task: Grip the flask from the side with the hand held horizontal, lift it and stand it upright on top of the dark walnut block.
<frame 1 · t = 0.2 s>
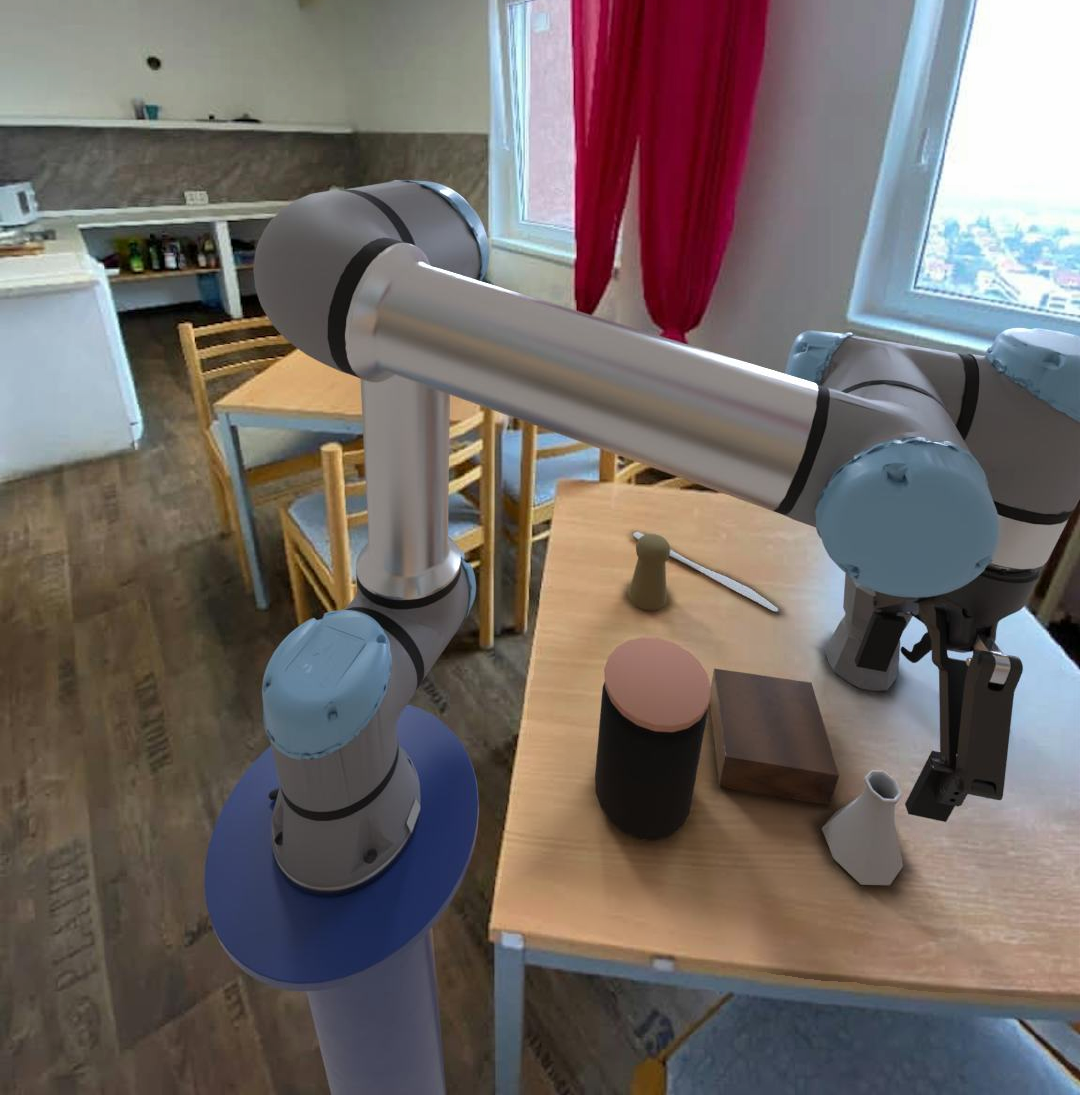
hand: (894, 731, 53), 21 cm above the table, tool pointing down, fingers open, 13 cm apart
coffee jar: (641, 796, 68), on the table
walnut block: (764, 746, 73), on the table
butter knife: (700, 570, 102), on the table
coffeepot: (865, 671, 84), on the table
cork: (647, 597, 96), on the table
flask: (860, 849, 63), on the table
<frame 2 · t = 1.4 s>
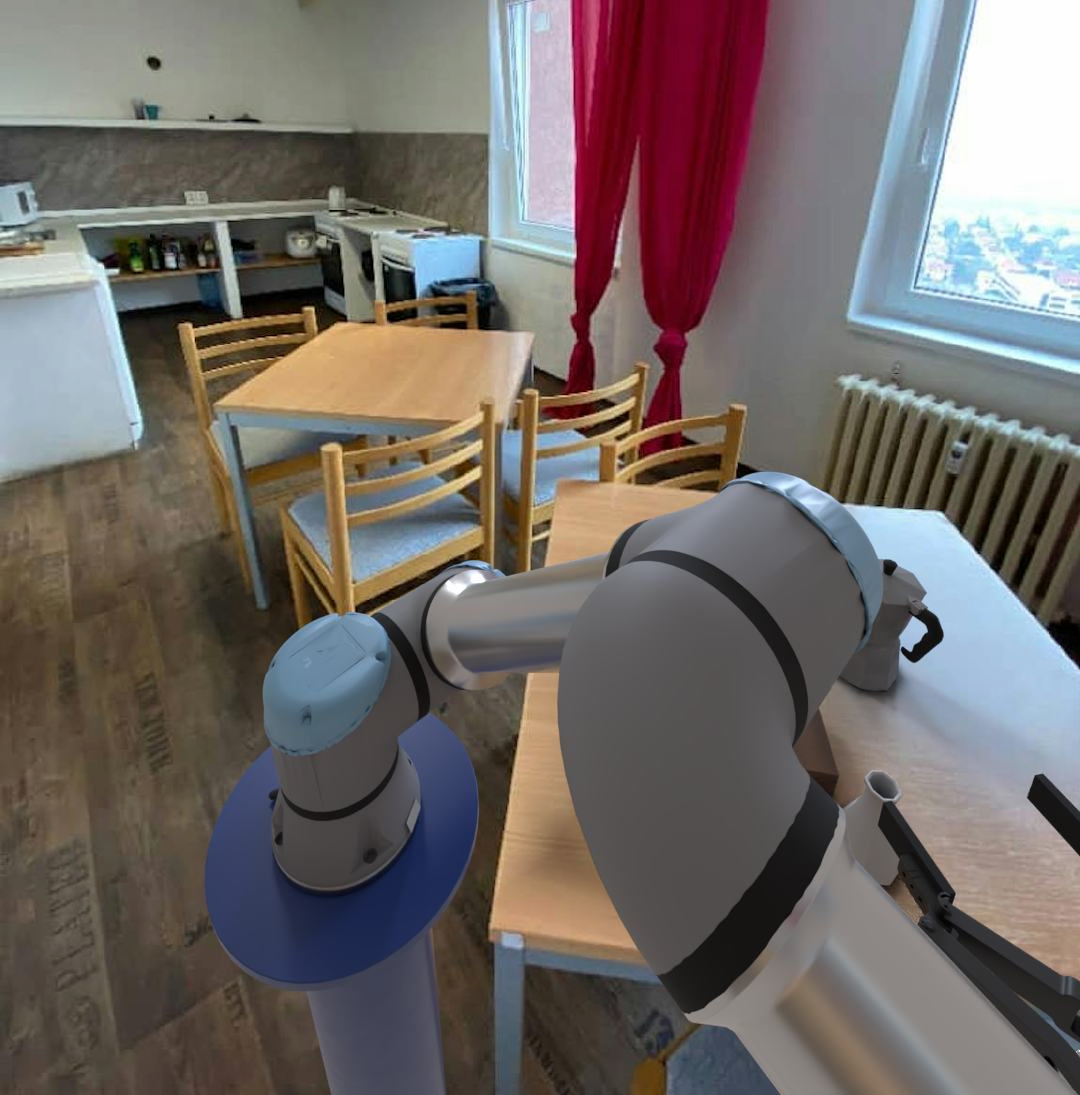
hand: (960, 798, 49), 19 cm above the table, tool horizontal, fingers open, 13 cm apart
nothing on the table moved.
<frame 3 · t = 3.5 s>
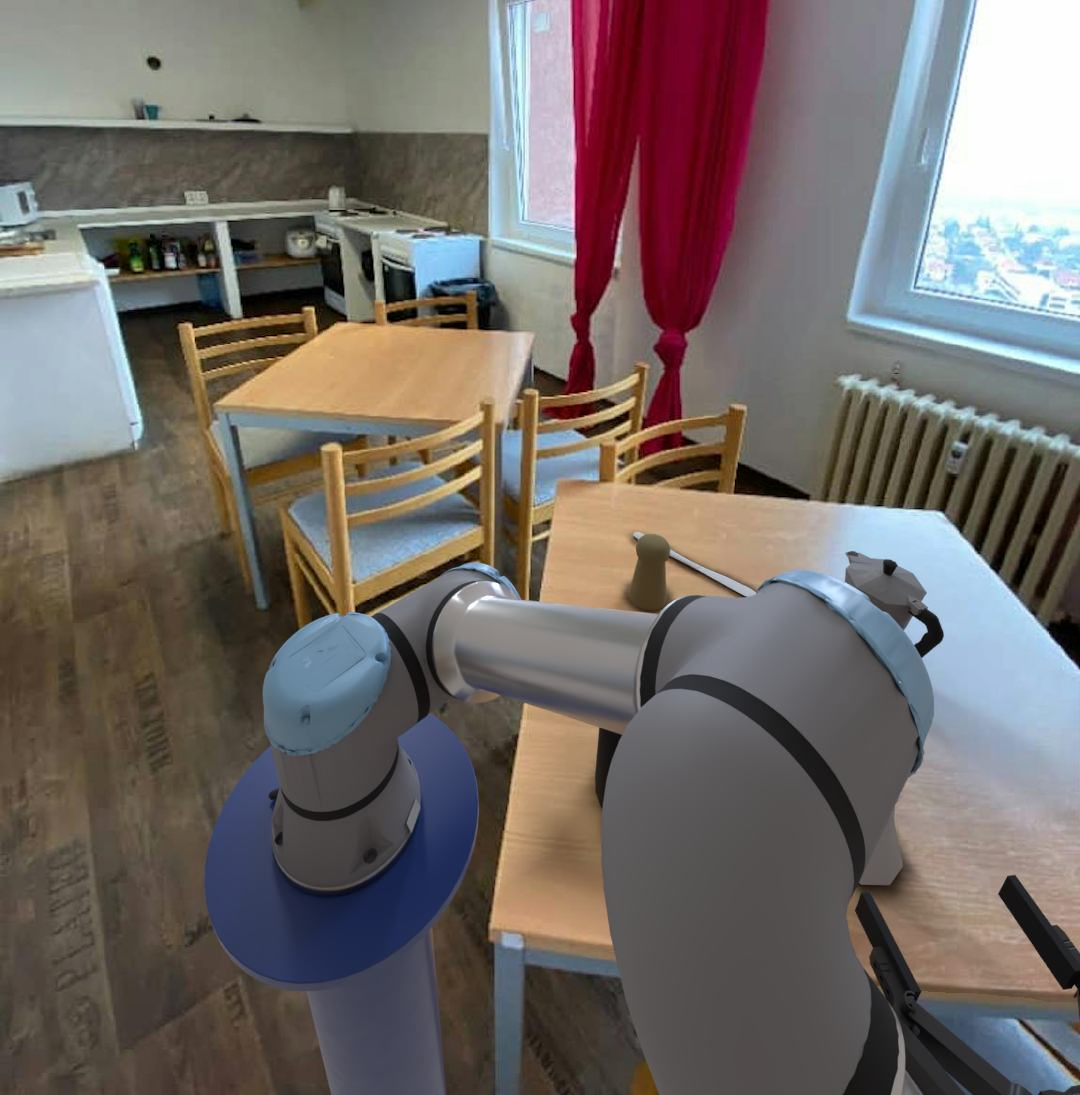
hand: (934, 891, 53), 8 cm above the table, tool horizontal, fingers open, 13 cm apart
nothing on the table moved.
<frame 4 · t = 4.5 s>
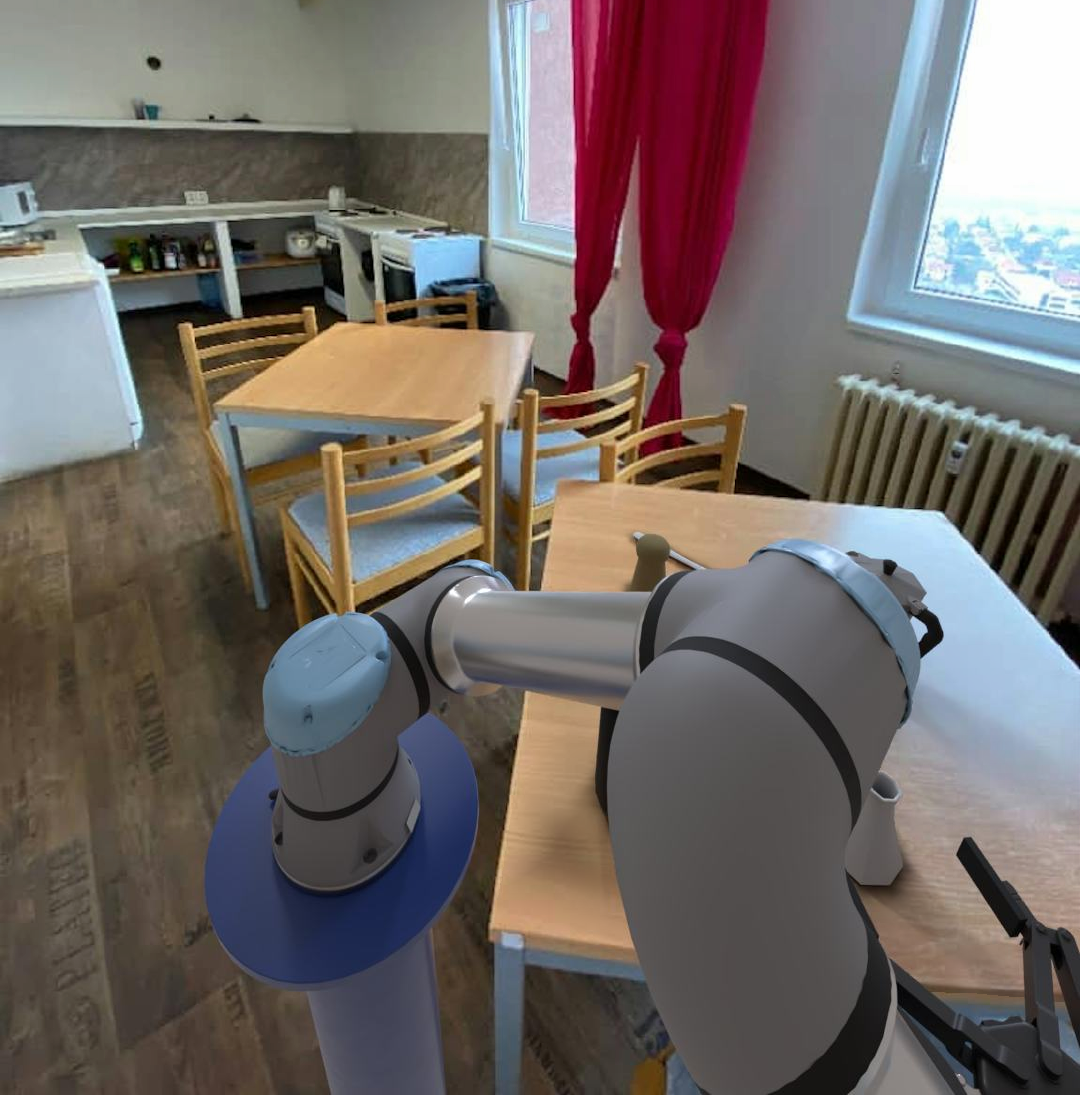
hand: (897, 851, 58), 6 cm above the table, tool horizontal, fingers open, 13 cm apart
nothing on the table moved.
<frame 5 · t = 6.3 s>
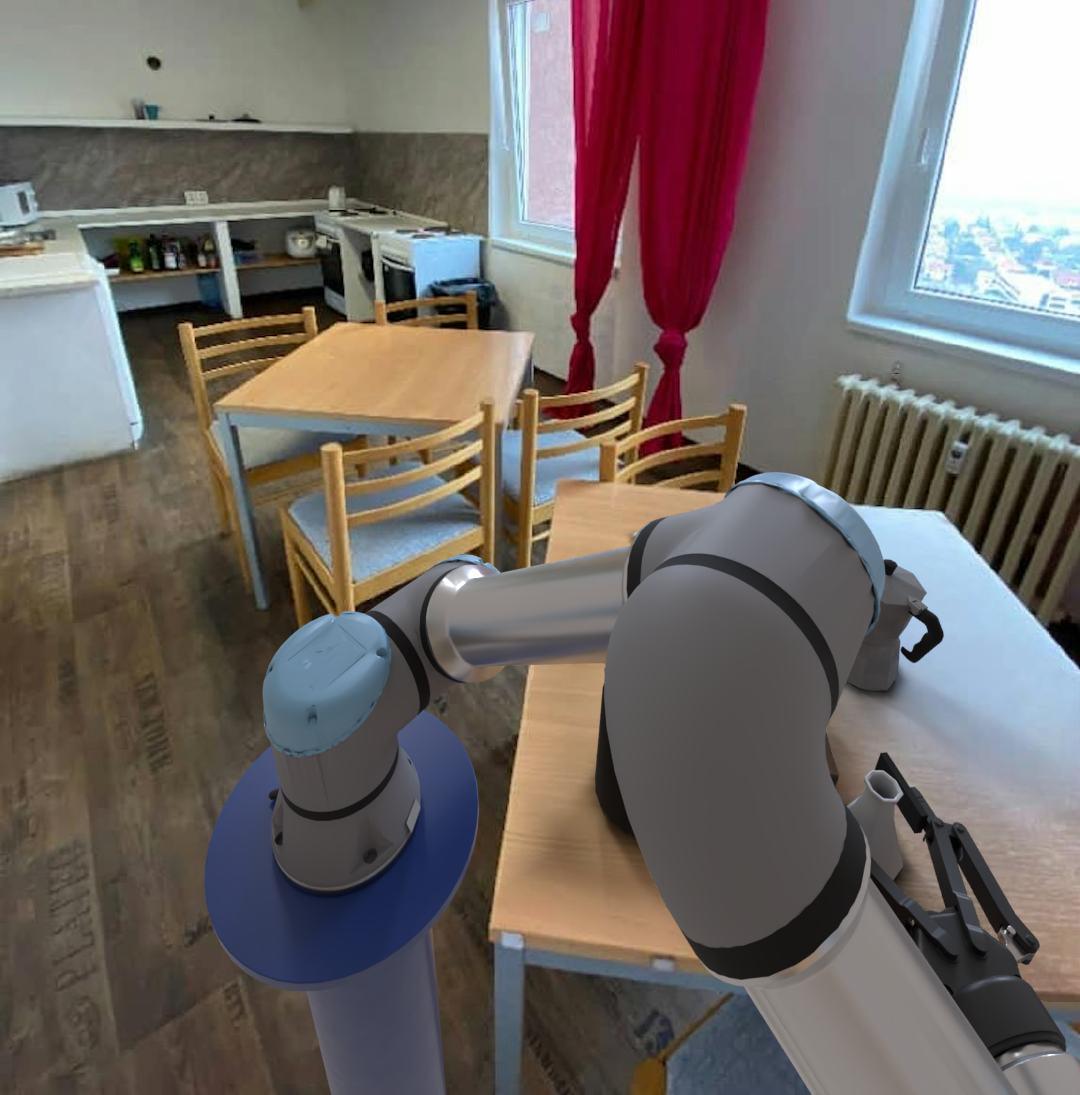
hand: (846, 764, 65), 6 cm above the table, tool horizontal, fingers open, 7 cm apart
nothing on the table moved.
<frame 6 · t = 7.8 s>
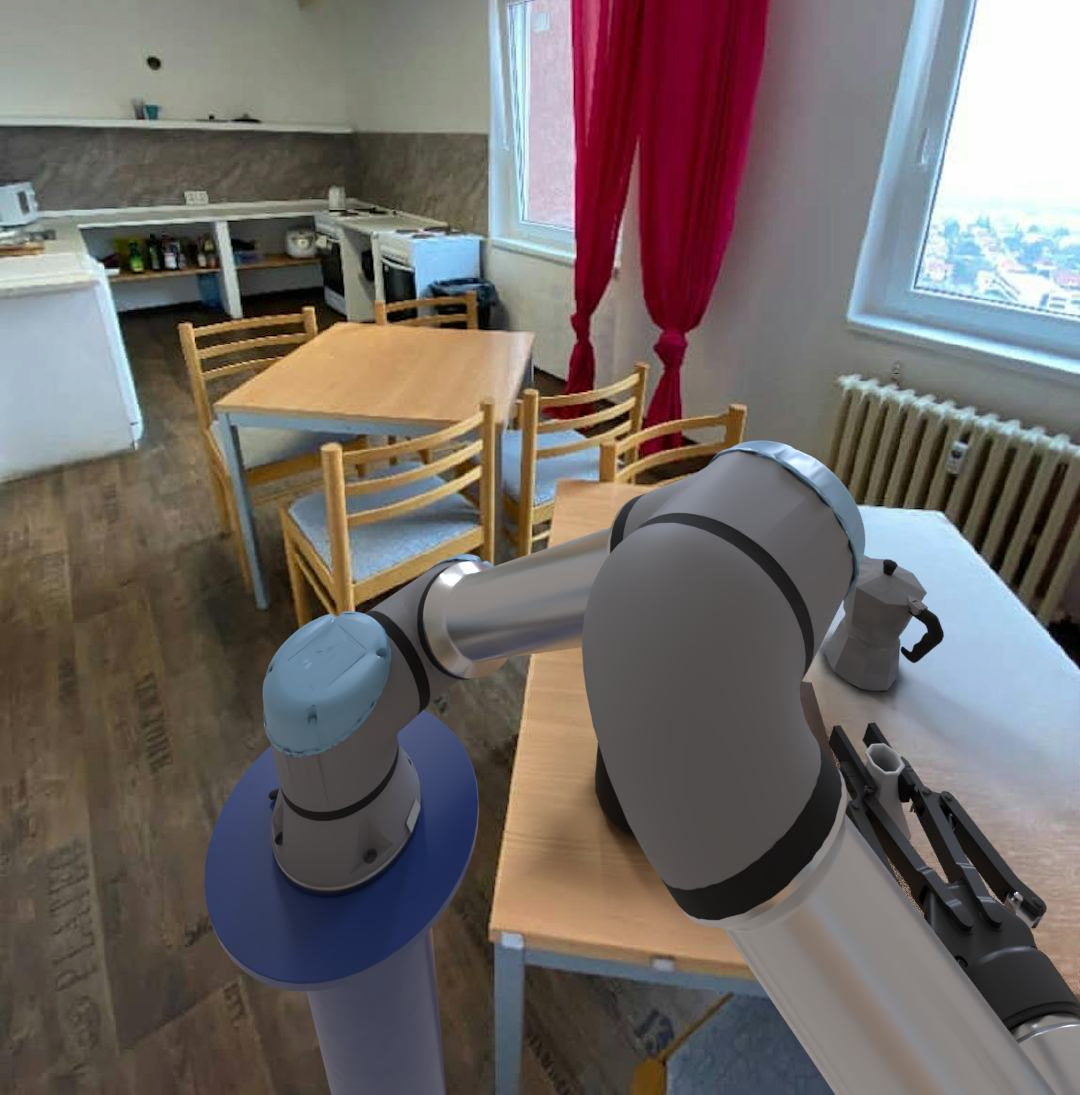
hand: (851, 733, 64), 10 cm above the table, tool horizontal, fingers closed on flask, 3 cm apart
flask: (867, 824, 63), point 3 cm above the table, touching gripper
everything else where it was.
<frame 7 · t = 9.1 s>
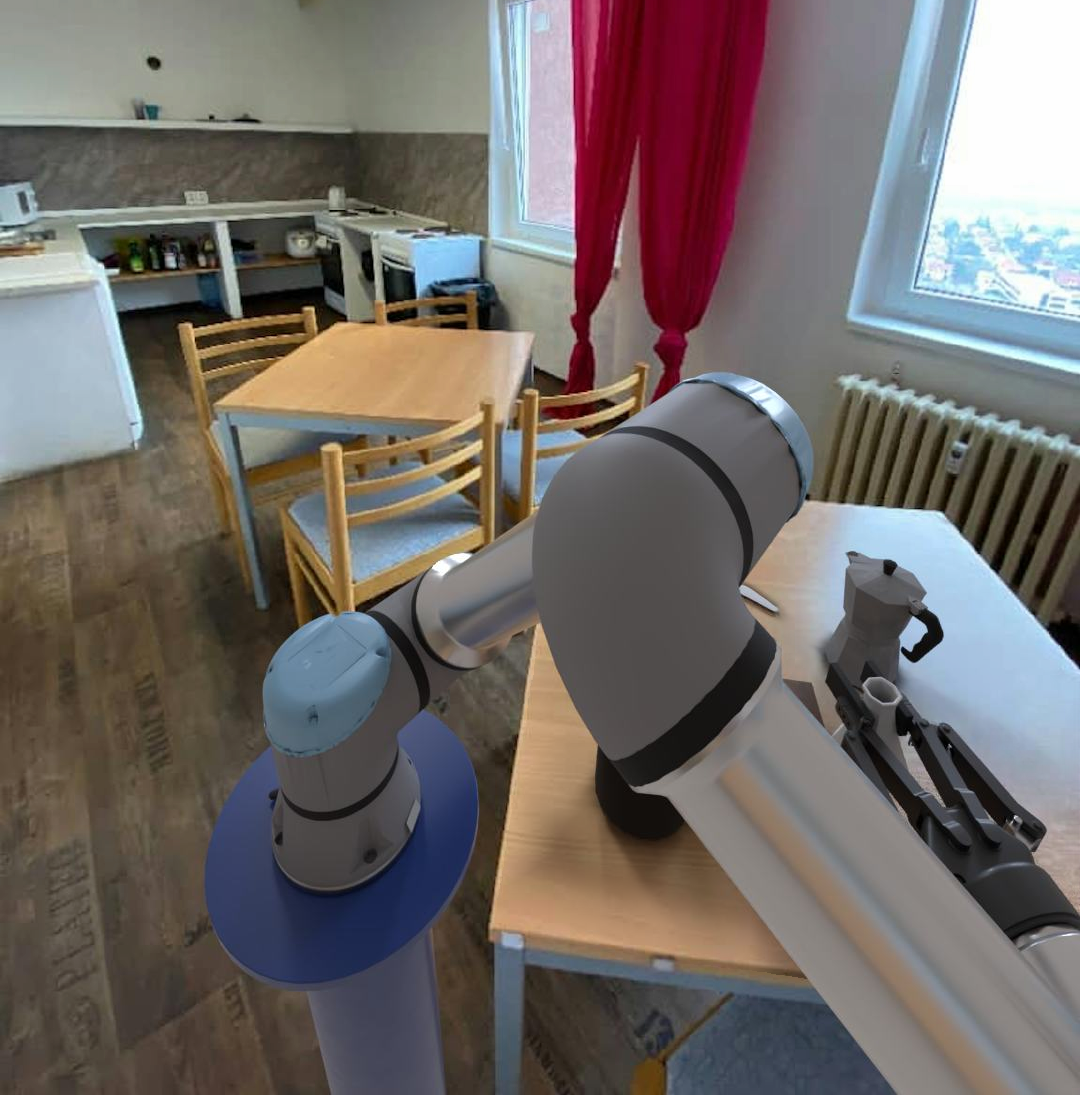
hand: (848, 671, 63), 17 cm above the table, tool horizontal, fingers closed on flask, 3 cm apart
flask: (865, 761, 62), point 10 cm above the table, touching gripper
everything else where it was.
when the fingers open (12 cm above the table, at t = 12.5 s): flask stays where it is, resting on walnut block.
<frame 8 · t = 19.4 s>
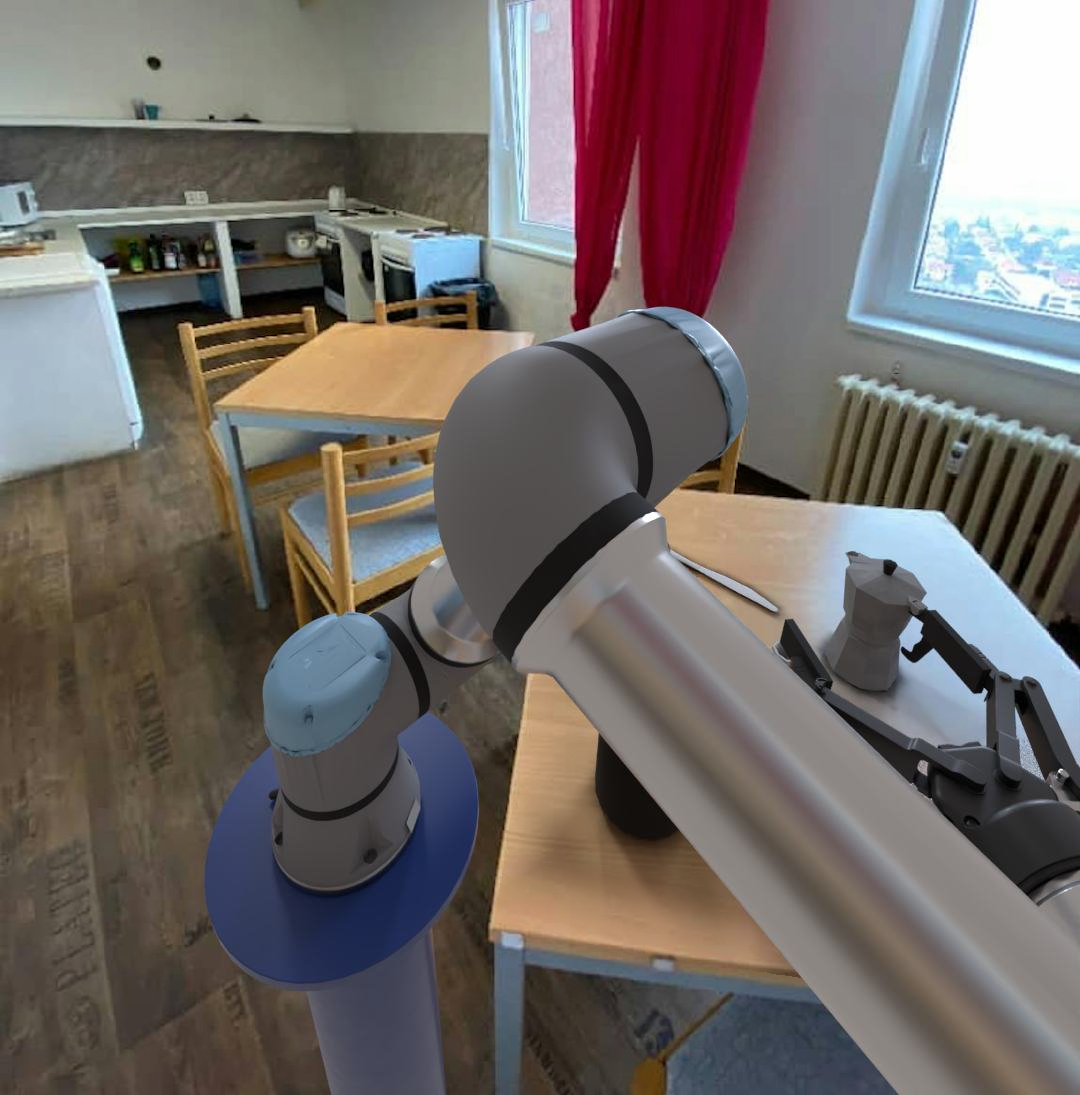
hand: (857, 625, 55), 28 cm above the table, tool horizontal, fingers open, 13 cm apart
flask: (773, 714, 72), point 5 cm above the table, touching walnut block
everything else where it was.
at the end: flask inside the target area on the walnut block (0.7 cm from its centre), point 4.8 cm above the walnut block's base; flask tilted 0°; the gripper is holding nothing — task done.
